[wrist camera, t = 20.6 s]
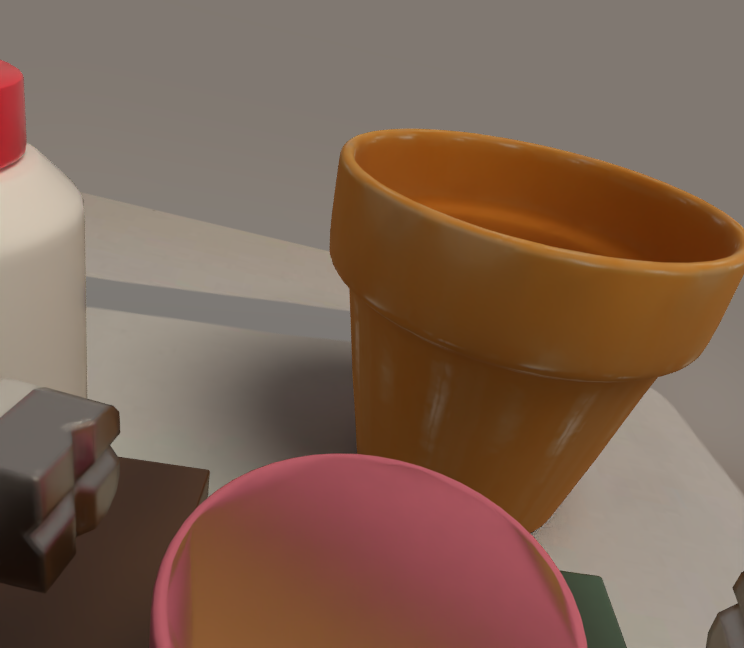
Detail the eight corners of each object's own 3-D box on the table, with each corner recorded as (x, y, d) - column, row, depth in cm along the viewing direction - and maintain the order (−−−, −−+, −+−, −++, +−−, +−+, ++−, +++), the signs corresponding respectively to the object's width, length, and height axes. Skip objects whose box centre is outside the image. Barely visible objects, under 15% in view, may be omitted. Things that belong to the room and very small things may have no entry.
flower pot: (688, 605, 25) (863, 287, 20) (304, 605, 23) (373, 231, 17) (548, 390, 38) (629, 155, 32) (288, 371, 35) (324, 109, 29)
